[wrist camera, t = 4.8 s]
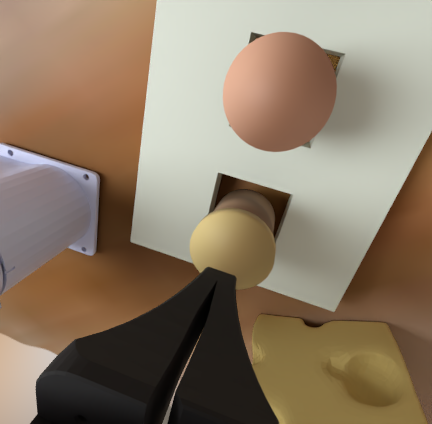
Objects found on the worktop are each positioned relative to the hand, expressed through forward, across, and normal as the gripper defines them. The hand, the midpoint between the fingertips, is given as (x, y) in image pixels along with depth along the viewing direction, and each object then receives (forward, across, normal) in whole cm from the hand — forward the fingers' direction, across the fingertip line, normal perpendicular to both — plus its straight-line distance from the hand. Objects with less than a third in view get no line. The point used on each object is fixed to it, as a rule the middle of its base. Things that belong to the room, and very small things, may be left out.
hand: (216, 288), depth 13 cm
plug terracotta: (+8, 0, -8) cm, 11 cm away
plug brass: (+8, 0, 0) cm, 8 cm away
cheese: (+10, -10, +12) cm, 19 cm away
